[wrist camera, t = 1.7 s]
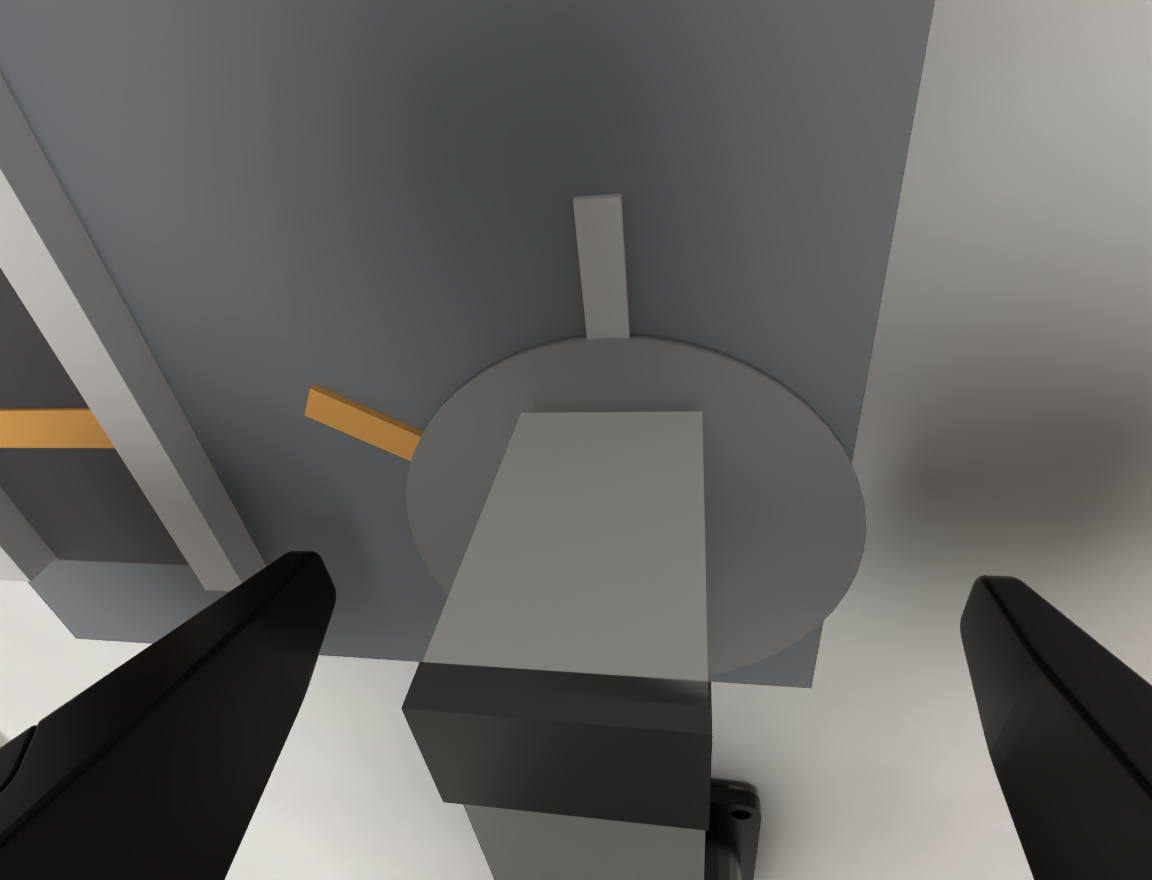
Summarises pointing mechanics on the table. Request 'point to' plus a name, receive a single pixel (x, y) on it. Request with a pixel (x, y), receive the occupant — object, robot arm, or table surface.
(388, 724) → the table surface
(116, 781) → the robot arm
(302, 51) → the console board
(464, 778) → the grey rectangular block
